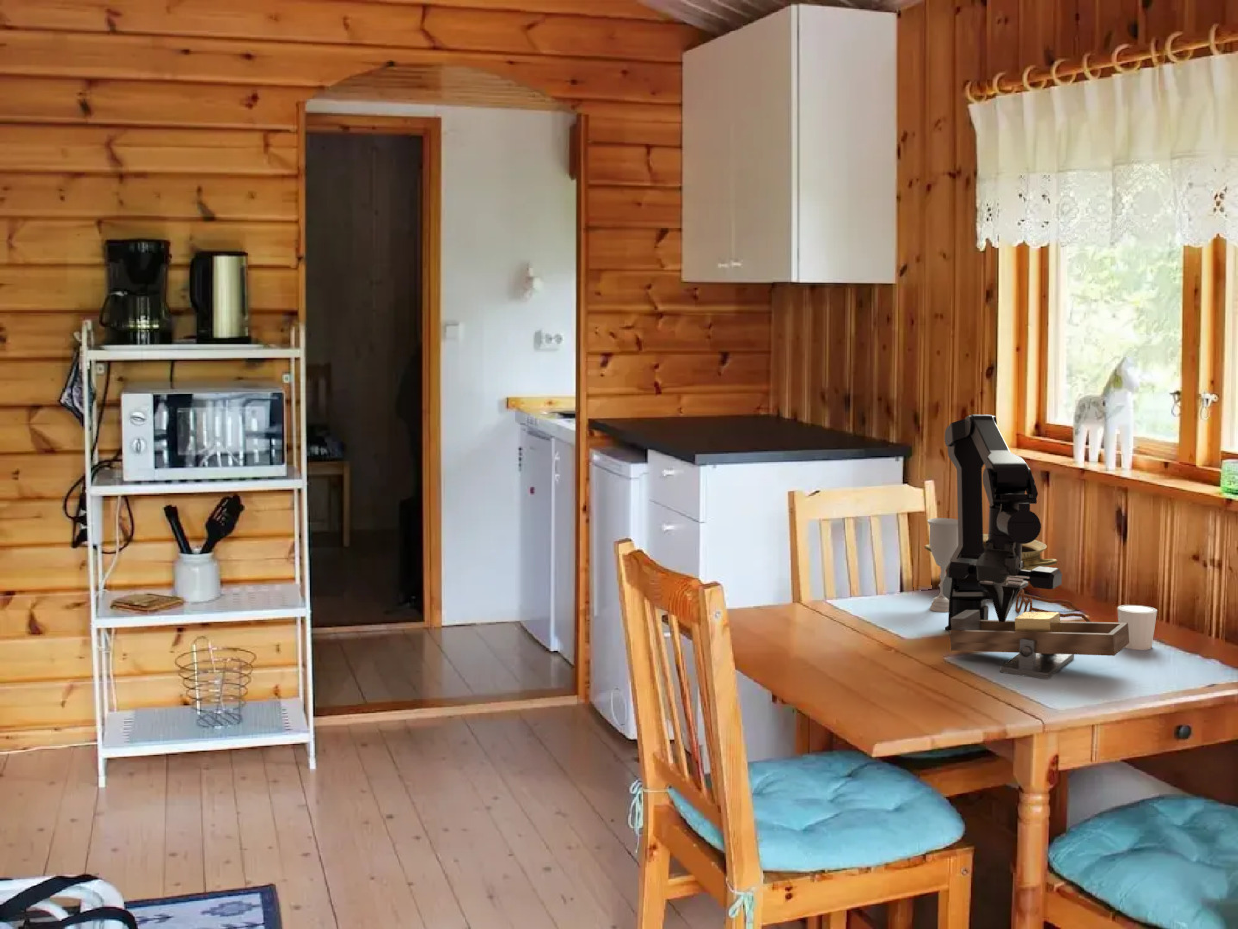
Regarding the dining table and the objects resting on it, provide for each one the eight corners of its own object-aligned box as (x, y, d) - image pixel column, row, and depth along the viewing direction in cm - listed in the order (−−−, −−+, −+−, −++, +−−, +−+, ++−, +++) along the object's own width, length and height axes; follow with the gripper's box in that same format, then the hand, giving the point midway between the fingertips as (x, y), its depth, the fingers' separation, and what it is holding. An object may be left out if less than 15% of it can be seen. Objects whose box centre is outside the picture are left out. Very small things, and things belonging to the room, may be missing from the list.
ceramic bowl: (1077, 588, 315) (1079, 542, 314) (1028, 607, 297) (1030, 559, 296) (950, 570, 335) (952, 527, 333) (897, 586, 317) (899, 541, 315)
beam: (950, 650, 256) (948, 619, 256) (970, 638, 265) (967, 608, 264) (1114, 655, 241) (1112, 622, 241) (1129, 643, 250) (1127, 611, 249)
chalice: (962, 613, 292) (965, 524, 290) (928, 613, 292) (931, 524, 290) (955, 605, 299) (957, 518, 297) (921, 604, 299) (924, 518, 297)
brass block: (1016, 641, 252) (1014, 618, 252) (1026, 634, 257) (1025, 611, 257) (1051, 642, 249) (1049, 619, 248) (1061, 635, 254) (1059, 612, 253)
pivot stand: (1000, 672, 249) (1001, 638, 248) (1028, 652, 262) (1030, 620, 261) (1047, 679, 245) (1048, 645, 244) (1073, 658, 258) (1075, 626, 257)
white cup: (1150, 652, 262) (1152, 614, 261) (1111, 647, 266) (1113, 609, 265) (1159, 644, 268) (1161, 607, 267) (1120, 639, 271) (1122, 602, 271)
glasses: (1013, 610, 296) (1014, 586, 295) (1080, 612, 295) (1081, 587, 294) (1026, 626, 283) (1027, 601, 283) (1095, 628, 282) (1096, 602, 281)
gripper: (936, 535, 252) (934, 623, 254) (1045, 546, 242) (1041, 638, 244) (959, 525, 262) (956, 611, 264) (1064, 536, 251) (1060, 625, 253)
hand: (1002, 621), depth 256 cm, fingers closed
